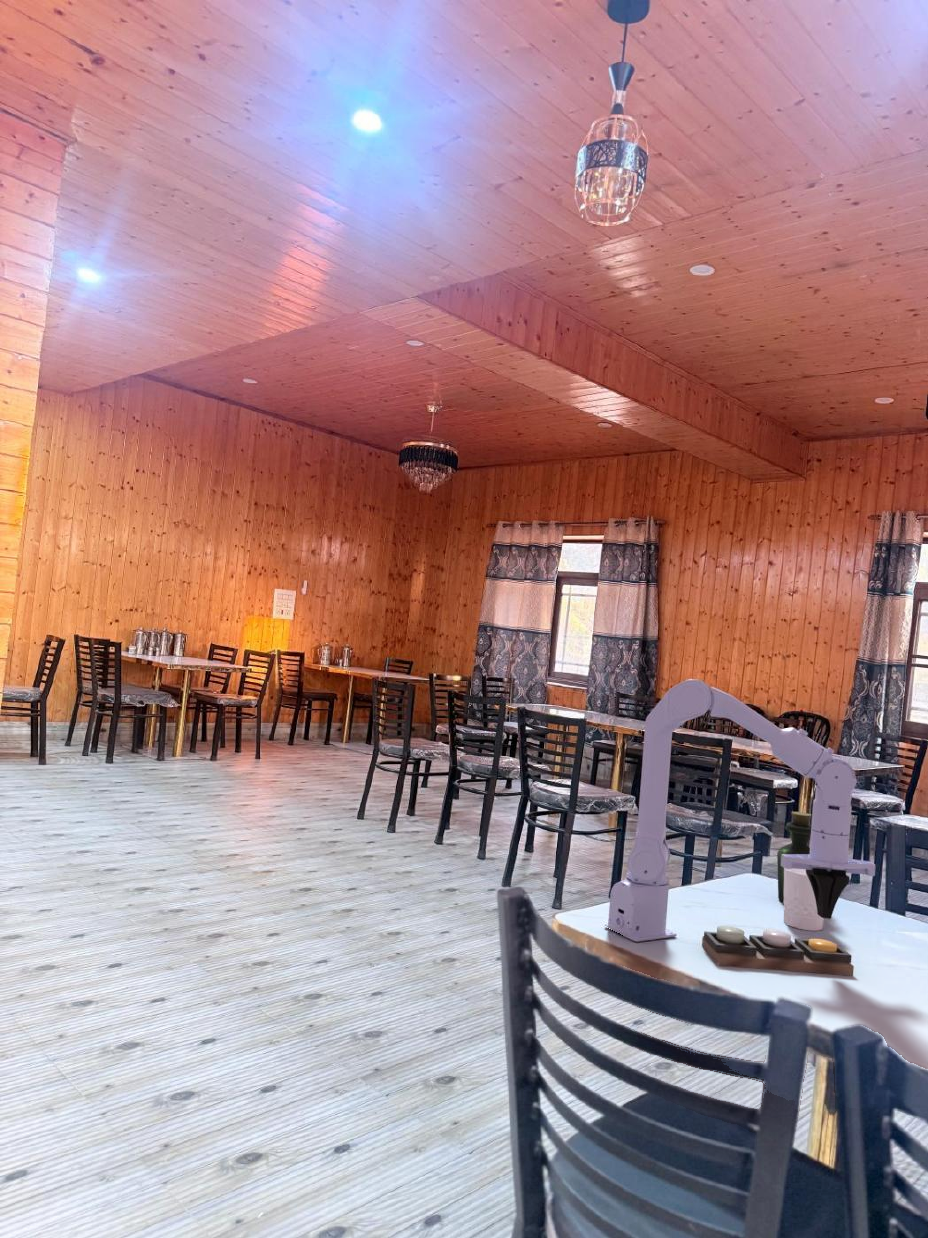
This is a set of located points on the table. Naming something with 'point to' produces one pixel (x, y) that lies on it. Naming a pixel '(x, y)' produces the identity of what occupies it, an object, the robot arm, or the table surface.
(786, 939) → the pale pink button
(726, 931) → the sage button
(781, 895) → the potion bottle
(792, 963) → the button panel
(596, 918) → the table surface
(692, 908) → the table surface
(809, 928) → the white cup
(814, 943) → the amber button
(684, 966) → the table surface
